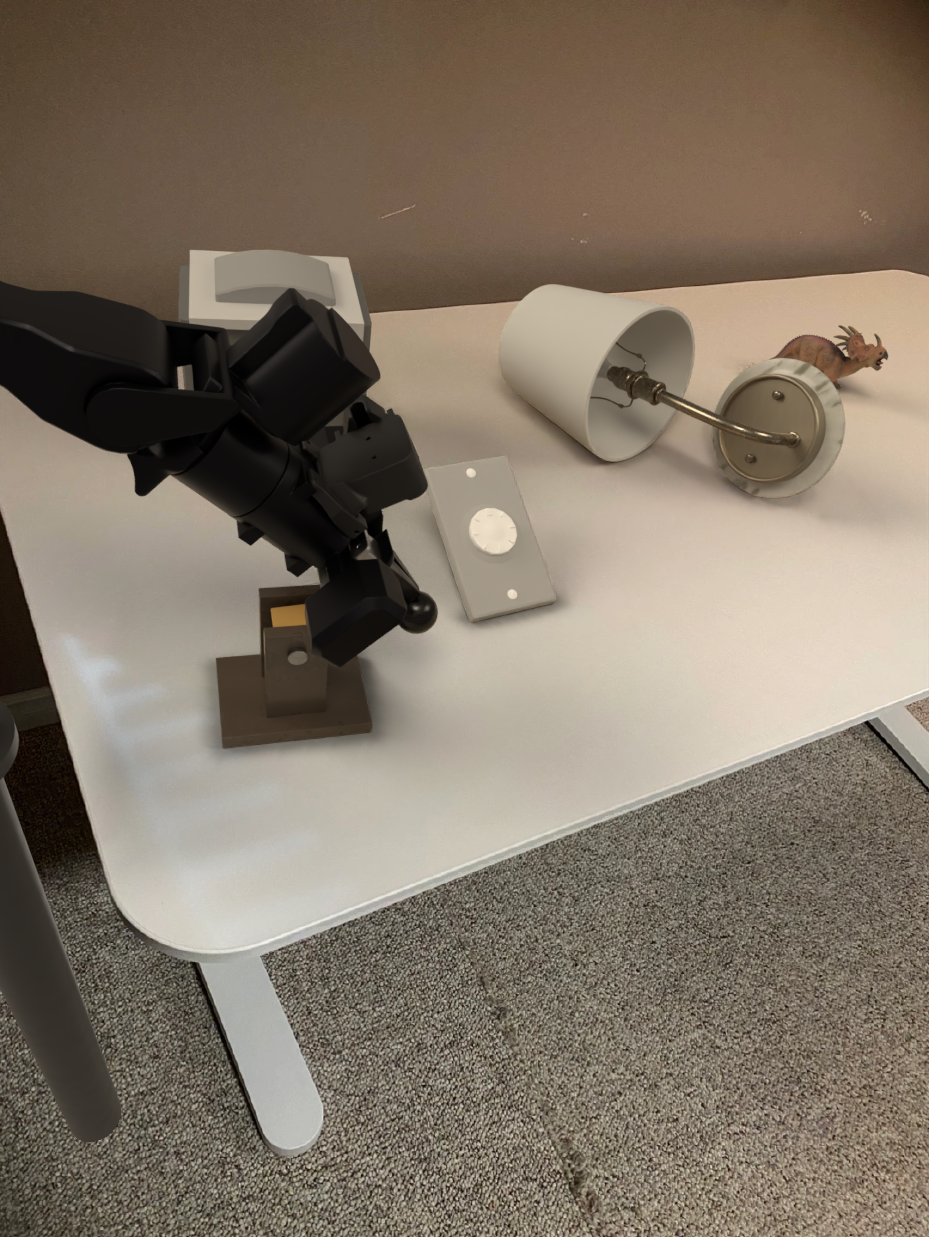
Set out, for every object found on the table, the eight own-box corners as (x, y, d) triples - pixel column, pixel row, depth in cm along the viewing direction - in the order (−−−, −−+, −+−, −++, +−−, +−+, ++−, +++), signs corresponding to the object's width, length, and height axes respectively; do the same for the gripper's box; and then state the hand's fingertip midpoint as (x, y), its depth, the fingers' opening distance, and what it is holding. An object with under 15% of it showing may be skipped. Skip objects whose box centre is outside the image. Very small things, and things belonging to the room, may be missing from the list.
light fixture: (709, 542, 84) (465, 407, 103) (802, 531, 97) (570, 413, 117) (788, 360, 77) (510, 252, 96) (877, 375, 90) (617, 277, 110)
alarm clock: (181, 476, 90) (165, 296, 77) (183, 401, 99) (168, 229, 86) (371, 475, 94) (385, 305, 81) (356, 403, 103) (366, 239, 90)
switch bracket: (354, 655, 76) (361, 567, 69) (371, 732, 71) (380, 644, 64) (216, 667, 73) (209, 576, 67) (222, 748, 68) (215, 658, 61)
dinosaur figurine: (859, 389, 121) (891, 324, 115) (861, 412, 117) (895, 345, 111) (756, 363, 123) (782, 297, 116) (754, 384, 119) (781, 317, 112)
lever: (431, 609, 71) (433, 579, 69) (441, 639, 69) (443, 609, 67) (273, 629, 69) (269, 598, 66) (277, 661, 66) (273, 630, 64)
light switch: (477, 616, 79) (426, 463, 82) (455, 635, 84) (408, 491, 87) (562, 596, 82) (511, 449, 85) (536, 615, 88) (489, 477, 91)
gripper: (381, 492, 48) (542, 625, 58) (330, 315, 60) (470, 451, 71) (231, 612, 51) (408, 717, 62) (212, 421, 64) (362, 536, 74)
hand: (415, 594), depth 67 cm, fingers closed
